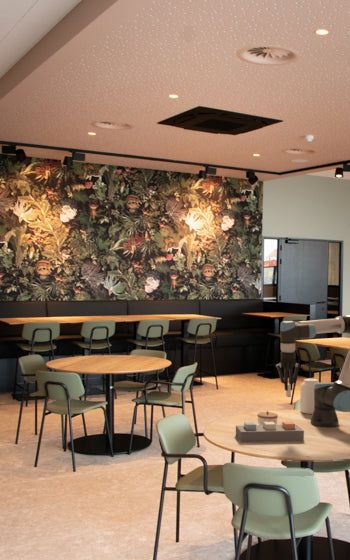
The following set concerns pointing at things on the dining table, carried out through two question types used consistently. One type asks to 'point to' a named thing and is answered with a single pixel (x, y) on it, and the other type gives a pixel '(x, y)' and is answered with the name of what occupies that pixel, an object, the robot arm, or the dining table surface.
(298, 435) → the console
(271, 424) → the key ivory
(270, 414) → the lidded jar
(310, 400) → the can
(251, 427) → the grey cube
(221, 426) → the dining table surface
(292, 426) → the key terracotta
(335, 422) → the robot arm
